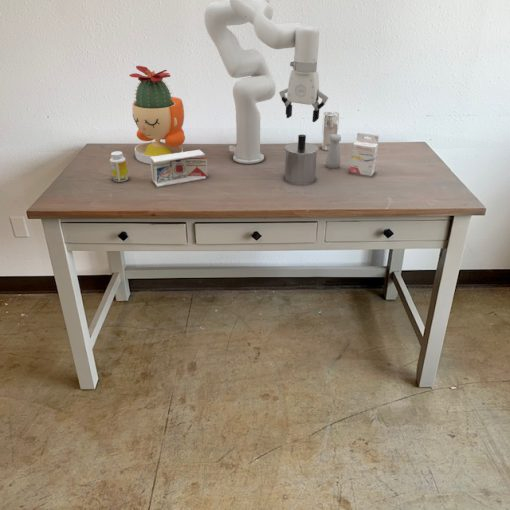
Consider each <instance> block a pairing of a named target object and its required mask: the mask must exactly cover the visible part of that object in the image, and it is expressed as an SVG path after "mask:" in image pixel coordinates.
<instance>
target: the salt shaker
mask: <svg viewBox="0 0 510 510" xmlns="http://www.w3.org/2000/svg"><path fill="white" fill-rule="evenodd" d="M341 140H342V136H341V135H340V134H338V133H337V134H332V135H330V141H331V143H330V147H329V151H327V155H326V158H325V165H326V167H327V168H329V169H337V168H339V167H340V166H341V161H342V160H341V151H340V150H341V149H340V142H341Z"/></svg>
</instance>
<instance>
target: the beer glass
mask: <svg viewBox="0 0 510 510" xmlns="http://www.w3.org/2000/svg"><path fill="white" fill-rule="evenodd" d="M321 122H322V123H321V133H322V143H321V150H322V151H326V152H328V151H329V147H330V143H331V141H330V135H332V134H338V132H339V128H340V127H339V126H340V125H339V124H340V113H339V112H337V111H324V112H323V114H322V121H321Z"/></svg>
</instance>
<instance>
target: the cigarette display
mask: <svg viewBox="0 0 510 510" xmlns="http://www.w3.org/2000/svg"><path fill="white" fill-rule="evenodd" d="M203 156H206V154H205V153H204V152H203V151H202V150H201V149H195V150H188V151H183V152H180V153H174V154H167V155H160V156H154V157H150V162H151V164H150V170H151V178H152V179H151V180H152V183H154V184H155V186H156V188H159V187H165V186H170V185H177V184H181V183H183V184H184V183H188V182H193V181H200V180H205V179H206V180H207V177H208V161H207V159H208V158H207V157H203Z"/></svg>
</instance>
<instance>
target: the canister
mask: <svg viewBox="0 0 510 510" xmlns="http://www.w3.org/2000/svg"><path fill="white" fill-rule="evenodd" d="M317 153H318V151H317V152H316V153H314V154H309V155H297V154H291V153H288V152H287V151H285V160H284V161H285V164H284V165H285V166H284V168H285V169H284V180H285V181H287V182H289V183H290V184H291V183H292V184H297V185H299V184H300V185H304V184H305V185H306V184H309V183H312V182H314V181H315V180H316V167H317Z"/></svg>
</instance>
